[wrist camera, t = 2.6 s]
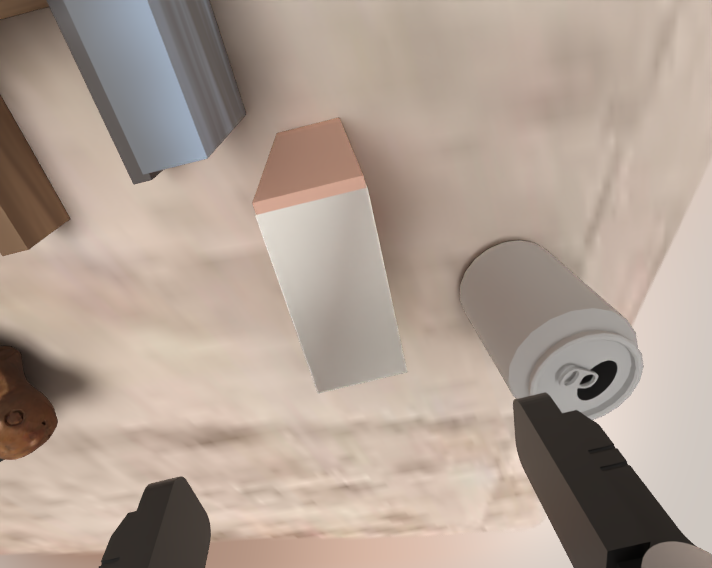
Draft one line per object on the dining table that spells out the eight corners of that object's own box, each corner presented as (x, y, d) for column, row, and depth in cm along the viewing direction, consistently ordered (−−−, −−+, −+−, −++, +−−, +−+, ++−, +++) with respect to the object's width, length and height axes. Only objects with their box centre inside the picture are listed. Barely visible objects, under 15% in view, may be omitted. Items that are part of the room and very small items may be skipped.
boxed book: (340, 117, 28) (364, 175, 16) (369, 247, 32) (407, 372, 20) (276, 133, 28) (251, 203, 16) (314, 260, 32) (317, 393, 20)
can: (519, 332, 37) (603, 446, 27) (439, 307, 35) (495, 420, 25) (570, 253, 34) (687, 347, 24) (485, 222, 32) (572, 308, 22)
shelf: (195, -70, 23) (101, -165, 13) (271, 168, 29) (250, 239, 19) (-83, 3, 23) (-403, -29, 13) (48, 224, 29) (-98, 325, 19)
